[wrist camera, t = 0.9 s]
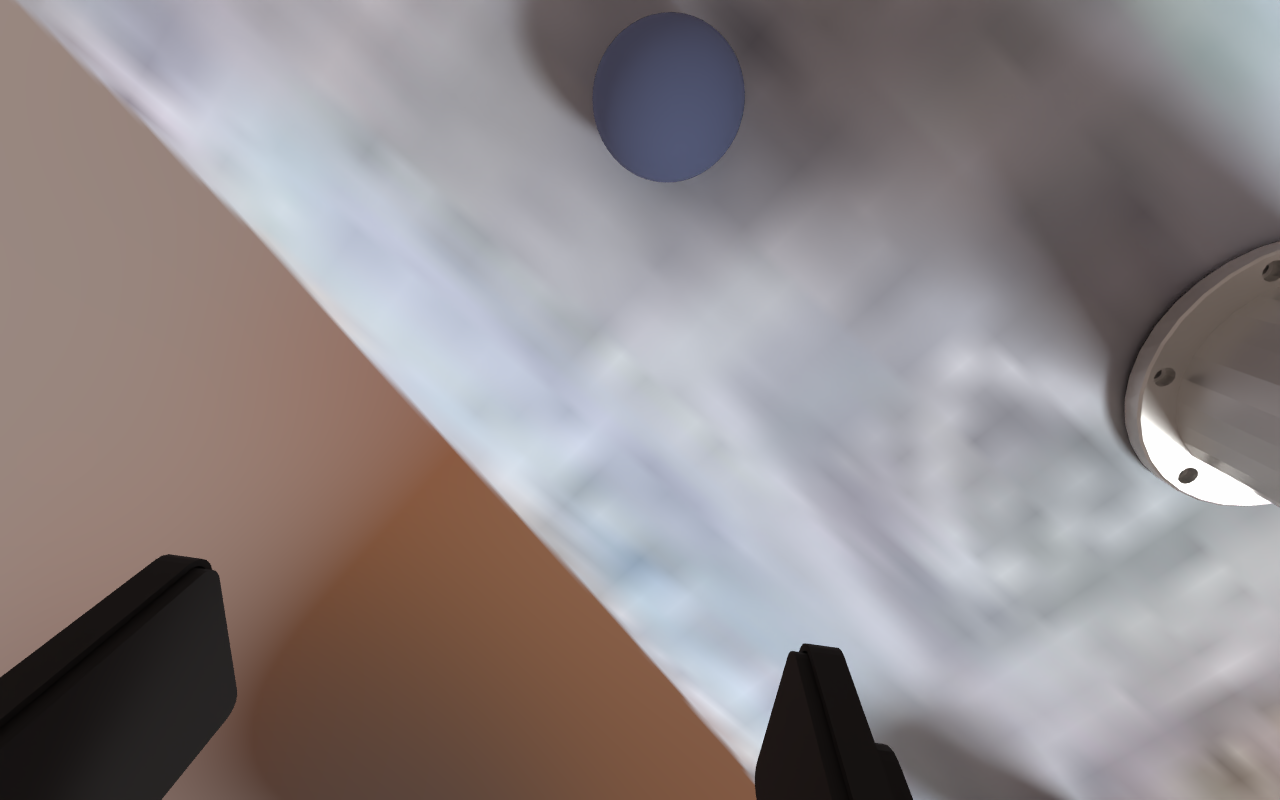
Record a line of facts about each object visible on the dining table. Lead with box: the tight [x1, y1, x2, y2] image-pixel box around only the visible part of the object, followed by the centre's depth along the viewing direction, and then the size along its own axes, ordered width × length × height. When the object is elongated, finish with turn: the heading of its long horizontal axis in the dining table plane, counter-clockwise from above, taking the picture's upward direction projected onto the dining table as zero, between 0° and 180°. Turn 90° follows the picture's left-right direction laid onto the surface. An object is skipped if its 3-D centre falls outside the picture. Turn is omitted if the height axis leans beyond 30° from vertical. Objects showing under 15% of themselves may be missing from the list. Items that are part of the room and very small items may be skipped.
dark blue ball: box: [593, 12, 745, 182], centre depth 22 cm, size 6×6×6 cm
